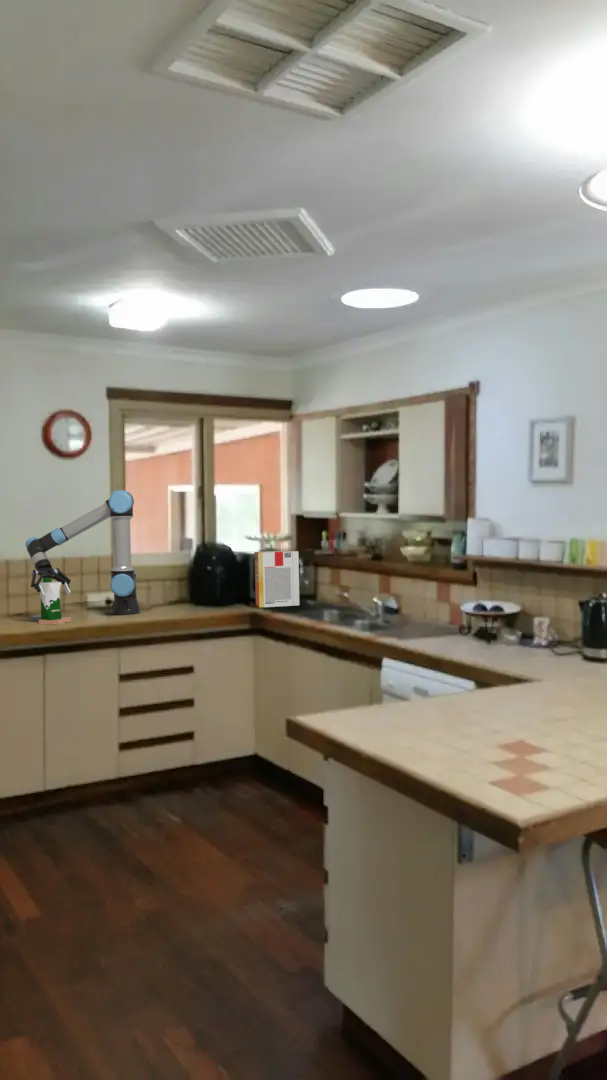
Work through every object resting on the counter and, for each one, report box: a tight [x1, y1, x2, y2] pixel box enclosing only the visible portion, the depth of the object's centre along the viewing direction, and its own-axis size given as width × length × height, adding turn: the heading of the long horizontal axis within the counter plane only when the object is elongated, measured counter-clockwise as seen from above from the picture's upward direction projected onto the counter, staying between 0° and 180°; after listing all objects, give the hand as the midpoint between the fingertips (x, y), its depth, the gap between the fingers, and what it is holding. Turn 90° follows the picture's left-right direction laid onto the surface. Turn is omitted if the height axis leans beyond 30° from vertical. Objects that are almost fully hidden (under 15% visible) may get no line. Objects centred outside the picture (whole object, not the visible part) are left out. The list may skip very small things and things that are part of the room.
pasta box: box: [254, 550, 300, 609], centre depth 472 cm, size 23×8×30 cm, turn 107°
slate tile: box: [29, 613, 63, 622], centre depth 431 cm, size 11×11×2 cm
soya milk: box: [39, 578, 63, 620], centre depth 417 cm, size 9×9×20 cm
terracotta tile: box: [38, 616, 72, 625], centre depth 418 cm, size 11×11×2 cm
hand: (56, 595), depth 416 cm, fingers open, 13 cm apart
